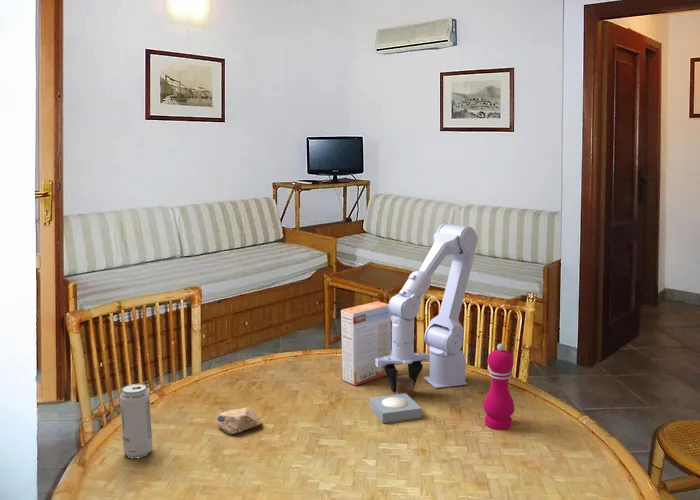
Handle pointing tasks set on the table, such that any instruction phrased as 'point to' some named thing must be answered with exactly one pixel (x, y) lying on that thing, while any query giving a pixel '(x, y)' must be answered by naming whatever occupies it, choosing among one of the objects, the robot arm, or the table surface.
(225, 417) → the stone
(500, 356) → the pepper mill
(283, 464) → the table surface
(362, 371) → the cracker box
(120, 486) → the table surface
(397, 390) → the walnut block
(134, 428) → the energy drink can
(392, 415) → the plinth
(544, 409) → the table surface
